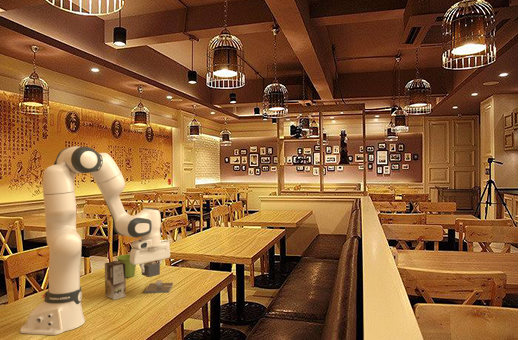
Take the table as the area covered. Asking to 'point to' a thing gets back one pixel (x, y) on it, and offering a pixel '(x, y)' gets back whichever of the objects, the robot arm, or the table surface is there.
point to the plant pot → (127, 265)
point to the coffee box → (115, 280)
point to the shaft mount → (158, 287)
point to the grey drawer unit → (151, 269)
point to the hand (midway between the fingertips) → (150, 270)
